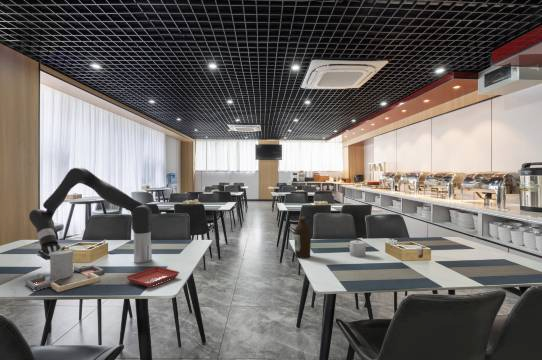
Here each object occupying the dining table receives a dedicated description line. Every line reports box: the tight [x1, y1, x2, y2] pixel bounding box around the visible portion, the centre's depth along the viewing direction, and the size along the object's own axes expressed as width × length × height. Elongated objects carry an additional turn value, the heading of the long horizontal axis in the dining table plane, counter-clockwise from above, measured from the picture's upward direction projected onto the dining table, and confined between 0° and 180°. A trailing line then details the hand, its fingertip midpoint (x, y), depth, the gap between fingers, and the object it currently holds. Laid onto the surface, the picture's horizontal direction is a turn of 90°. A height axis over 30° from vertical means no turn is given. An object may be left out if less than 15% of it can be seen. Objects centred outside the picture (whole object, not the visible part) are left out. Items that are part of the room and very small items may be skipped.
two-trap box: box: [25, 264, 105, 293], centre depth 144 cm, size 29×29×2 cm
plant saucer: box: [125, 266, 180, 288], centre depth 143 cm, size 18×18×3 cm
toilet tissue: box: [347, 239, 366, 258], centre depth 188 cm, size 9×13×9 cm
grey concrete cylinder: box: [49, 249, 74, 280], centre depth 149 cm, size 10×10×12 cm
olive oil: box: [293, 216, 312, 259], centre depth 184 cm, size 11×11×25 cm
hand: (55, 264), depth 155 cm, fingers closed
